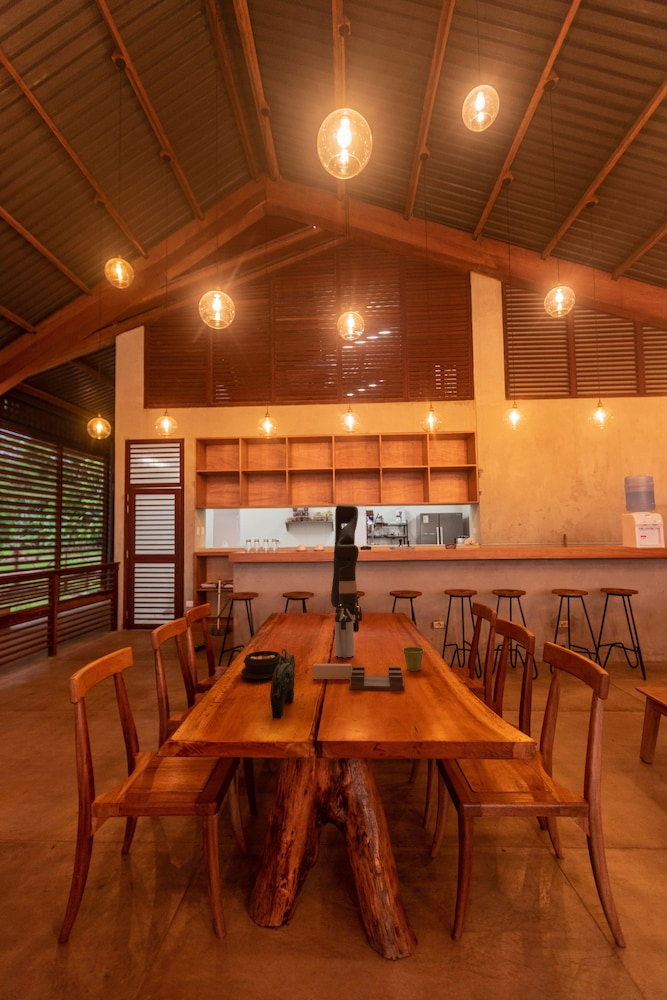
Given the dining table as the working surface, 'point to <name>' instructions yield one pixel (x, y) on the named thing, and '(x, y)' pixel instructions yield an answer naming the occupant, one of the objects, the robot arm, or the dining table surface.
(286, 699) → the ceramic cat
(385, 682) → the dark grey holder
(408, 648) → the plant pot
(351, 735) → the dining table surface
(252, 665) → the casserole
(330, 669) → the clay strip
